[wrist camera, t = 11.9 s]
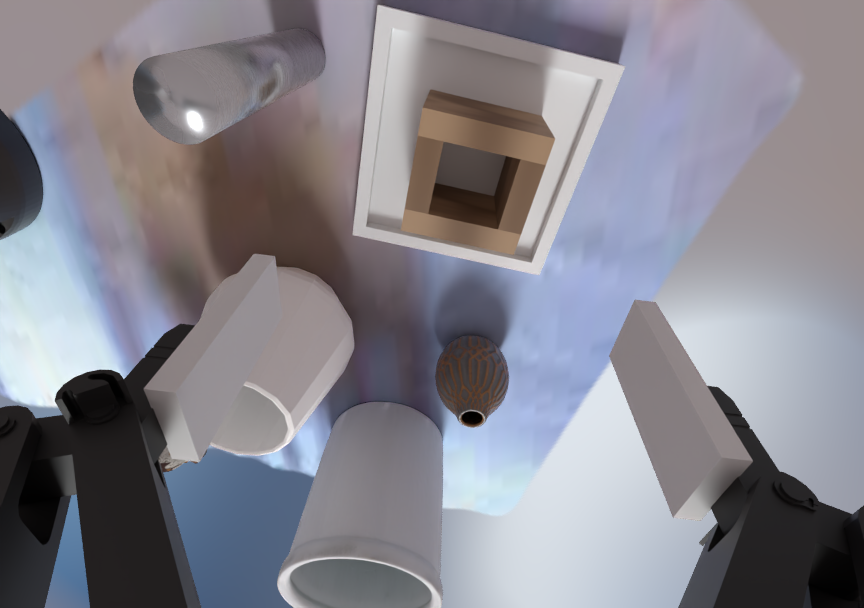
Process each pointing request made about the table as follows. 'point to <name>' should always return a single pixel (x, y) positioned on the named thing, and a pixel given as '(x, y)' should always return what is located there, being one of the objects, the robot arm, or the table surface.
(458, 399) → the vase
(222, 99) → the pin
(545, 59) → the tray
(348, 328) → the cup
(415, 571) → the utensil holder
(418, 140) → the wooden square holder
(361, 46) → the table surface
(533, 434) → the table surface
